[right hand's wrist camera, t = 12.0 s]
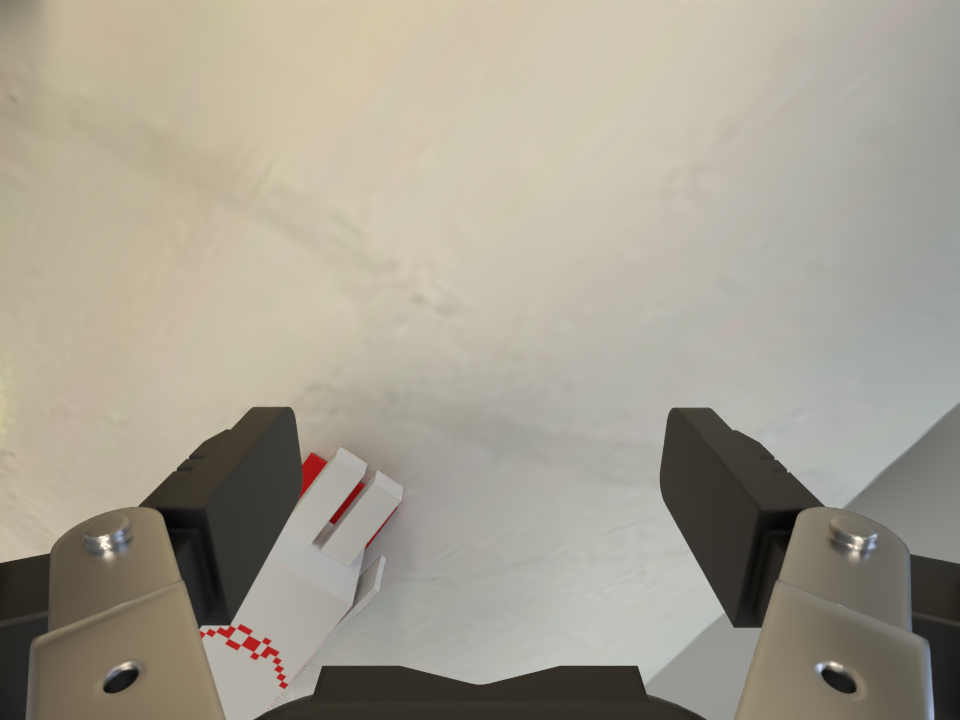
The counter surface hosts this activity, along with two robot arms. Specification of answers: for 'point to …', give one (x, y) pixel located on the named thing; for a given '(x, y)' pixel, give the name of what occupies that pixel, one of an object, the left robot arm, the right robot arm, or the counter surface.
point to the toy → (303, 585)
